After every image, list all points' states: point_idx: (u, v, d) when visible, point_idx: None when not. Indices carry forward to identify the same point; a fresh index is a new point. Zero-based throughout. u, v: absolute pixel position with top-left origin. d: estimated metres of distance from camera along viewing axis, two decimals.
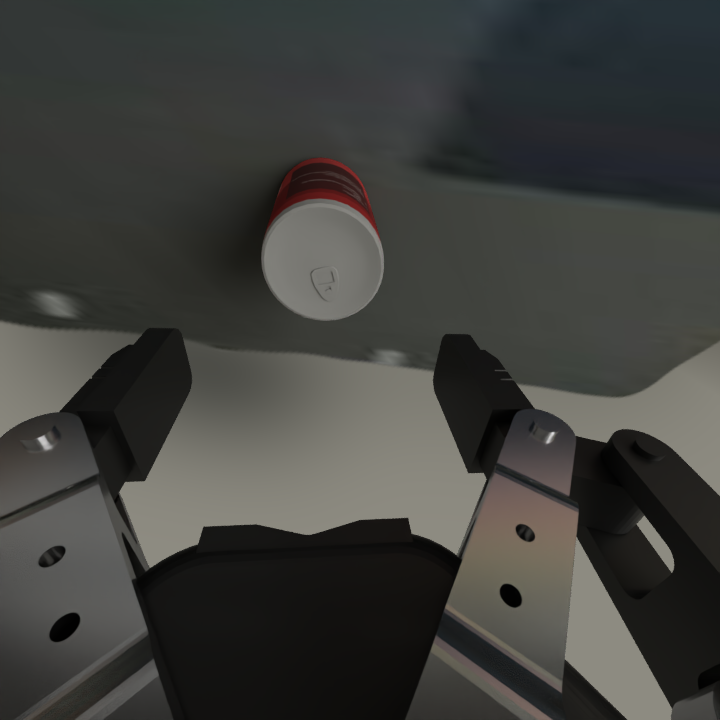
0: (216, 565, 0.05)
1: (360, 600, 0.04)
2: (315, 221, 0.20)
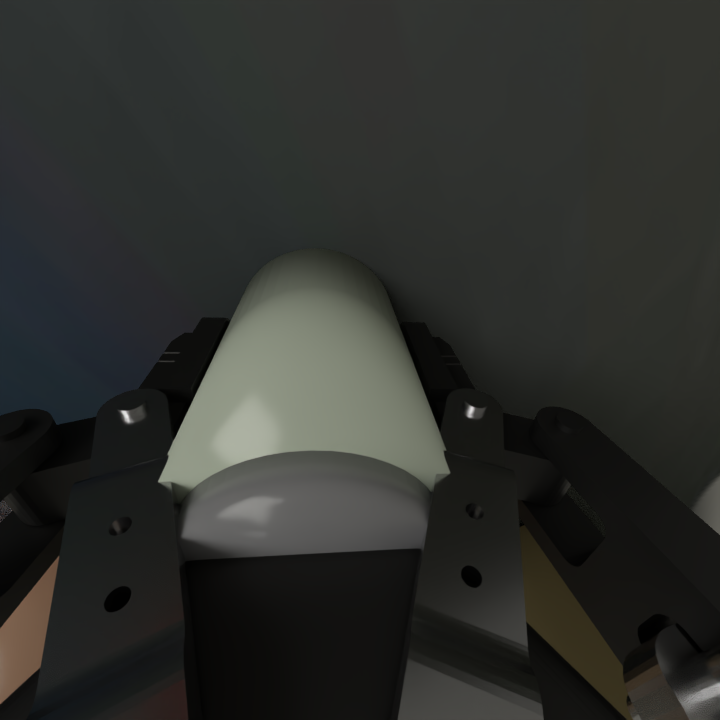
0: (216, 565, 0.05)
1: (360, 600, 0.04)
2: None
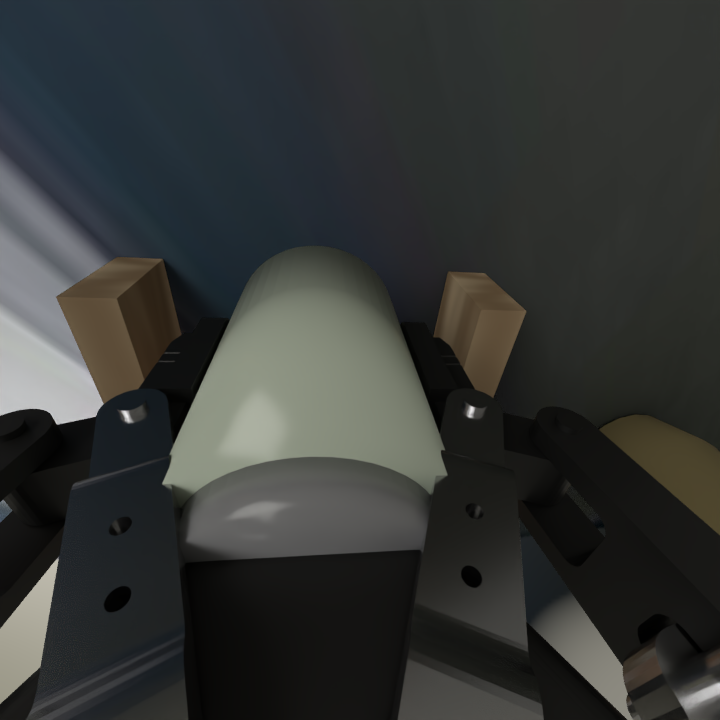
0: (216, 565, 0.05)
1: (360, 600, 0.04)
2: None
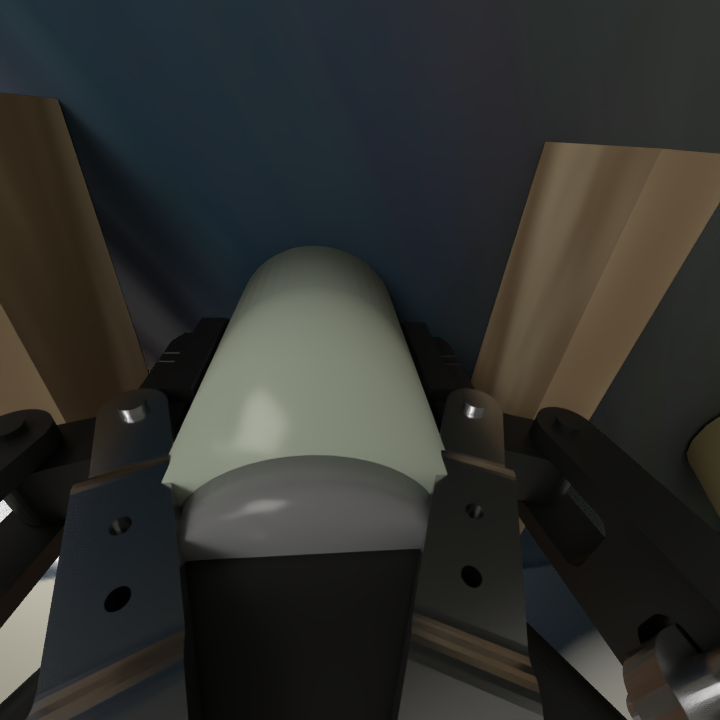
0: (216, 565, 0.05)
1: (360, 600, 0.04)
2: None
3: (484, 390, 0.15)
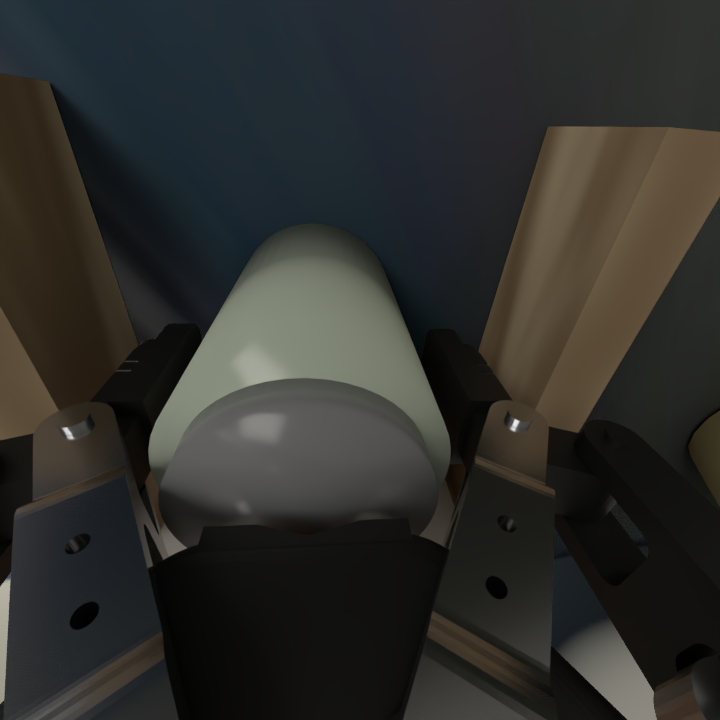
0: (216, 565, 0.05)
1: (360, 600, 0.04)
2: None
3: None
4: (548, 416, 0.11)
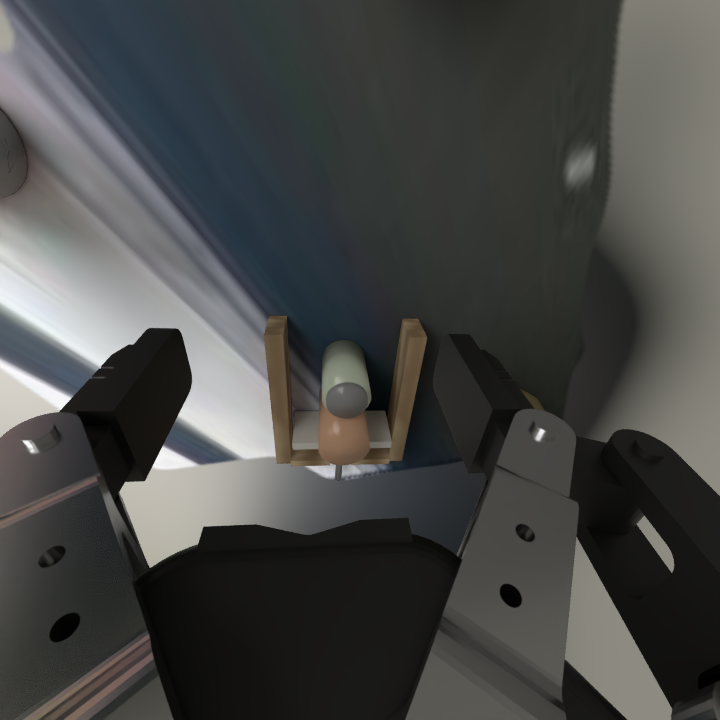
0: (216, 565, 0.05)
1: (360, 600, 0.04)
2: None
3: (395, 382, 0.46)
4: (404, 391, 0.43)
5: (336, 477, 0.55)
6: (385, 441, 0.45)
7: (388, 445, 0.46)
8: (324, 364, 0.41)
